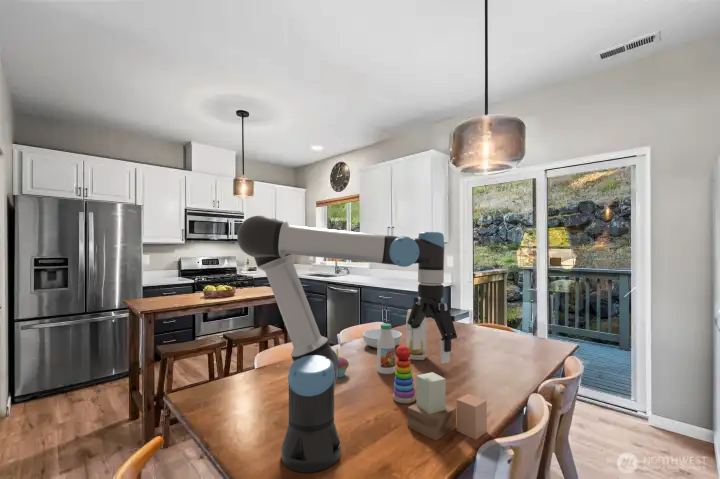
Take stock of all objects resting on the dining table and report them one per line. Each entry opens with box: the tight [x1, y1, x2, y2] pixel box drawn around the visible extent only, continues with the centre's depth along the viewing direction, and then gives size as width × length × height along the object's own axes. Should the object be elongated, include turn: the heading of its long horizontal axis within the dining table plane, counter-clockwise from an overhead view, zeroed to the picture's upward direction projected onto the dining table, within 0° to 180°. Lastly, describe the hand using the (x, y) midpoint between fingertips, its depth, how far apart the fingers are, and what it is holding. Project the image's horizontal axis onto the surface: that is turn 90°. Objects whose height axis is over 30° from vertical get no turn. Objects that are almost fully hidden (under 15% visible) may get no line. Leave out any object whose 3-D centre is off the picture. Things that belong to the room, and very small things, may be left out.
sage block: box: [416, 371, 447, 414], centre depth 102 cm, size 6×6×9 cm
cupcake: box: [335, 348, 350, 378], centre depth 143 cm, size 9×8×12 cm
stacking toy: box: [392, 344, 417, 404], centre depth 120 cm, size 8×8×19 cm
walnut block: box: [407, 402, 457, 441], centre depth 102 cm, size 10×10×6 cm
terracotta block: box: [456, 393, 488, 440], centre depth 99 cm, size 6×6×9 cm
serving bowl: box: [362, 328, 403, 349], centre depth 184 cm, size 21×21×7 cm
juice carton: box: [405, 308, 427, 361], centre depth 165 cm, size 9×8×24 cm
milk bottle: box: [376, 323, 396, 375], centre depth 147 cm, size 8×8×20 cm
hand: (429, 355), depth 102 cm, fingers open, 13 cm apart
